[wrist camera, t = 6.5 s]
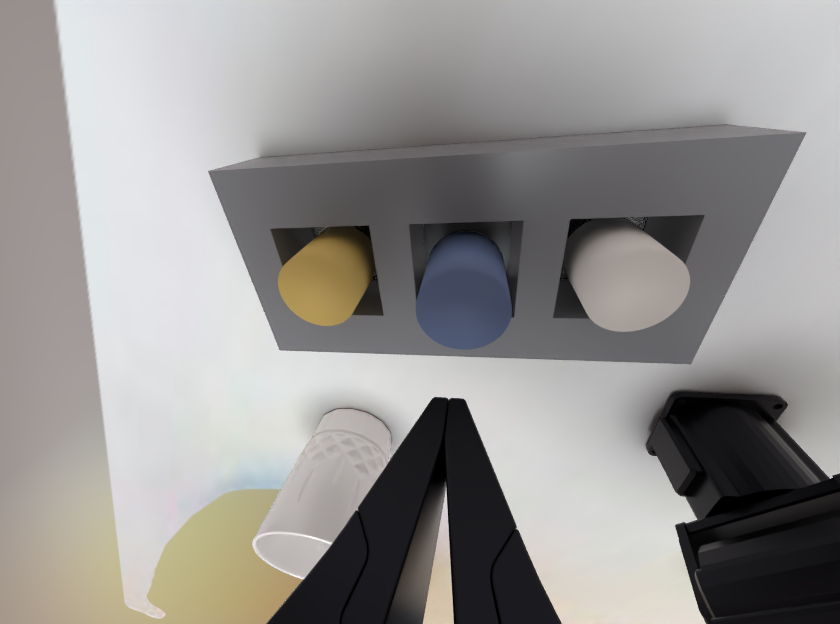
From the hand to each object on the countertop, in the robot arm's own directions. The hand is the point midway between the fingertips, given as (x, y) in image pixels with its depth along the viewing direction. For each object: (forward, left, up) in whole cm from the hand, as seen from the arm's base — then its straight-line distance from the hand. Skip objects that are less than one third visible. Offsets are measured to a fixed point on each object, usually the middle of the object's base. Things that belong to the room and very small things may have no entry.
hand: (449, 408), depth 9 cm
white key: (-7, 0, -10) cm, 12 cm away
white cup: (+10, +18, -12) cm, 24 cm away
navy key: (0, 0, -9) cm, 9 cm away
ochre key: (+6, 0, -10) cm, 12 cm away
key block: (0, 0, -12) cm, 12 cm away
